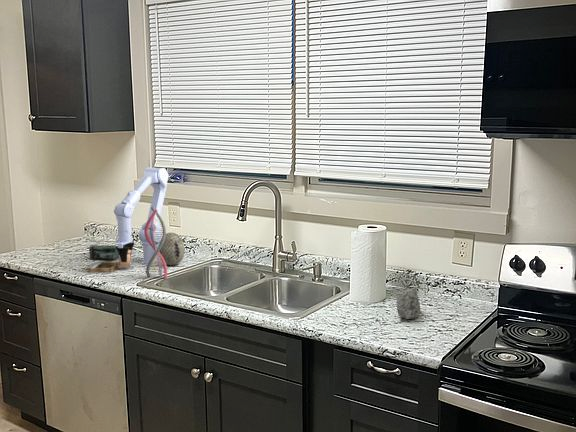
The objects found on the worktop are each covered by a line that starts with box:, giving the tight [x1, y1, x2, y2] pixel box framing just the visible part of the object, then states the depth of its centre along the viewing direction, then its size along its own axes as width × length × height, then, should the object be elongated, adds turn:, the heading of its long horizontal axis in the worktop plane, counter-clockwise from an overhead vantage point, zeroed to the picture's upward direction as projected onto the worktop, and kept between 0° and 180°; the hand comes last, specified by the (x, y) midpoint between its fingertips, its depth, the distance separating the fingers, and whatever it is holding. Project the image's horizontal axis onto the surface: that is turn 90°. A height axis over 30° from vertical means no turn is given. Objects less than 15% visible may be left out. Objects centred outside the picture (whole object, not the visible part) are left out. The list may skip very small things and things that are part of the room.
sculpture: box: [88, 244, 119, 261], centre depth 299 cm, size 12×8×15 cm
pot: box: [118, 250, 132, 267], centre depth 280 cm, size 5×5×7 cm
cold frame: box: [85, 260, 120, 274], centre depth 281 cm, size 11×13×2 cm
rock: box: [396, 287, 421, 320], centre depth 217 cm, size 15×8×10 cm, turn 142°
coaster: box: [118, 265, 135, 272], centre depth 281 cm, size 7×7×1 cm
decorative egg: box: [159, 232, 186, 266], centre depth 288 cm, size 12×12×15 cm
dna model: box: [144, 207, 168, 279], centre depth 264 cm, size 9×9×30 cm
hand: (126, 260), depth 281 cm, fingers closed on pot, 5 cm apart
